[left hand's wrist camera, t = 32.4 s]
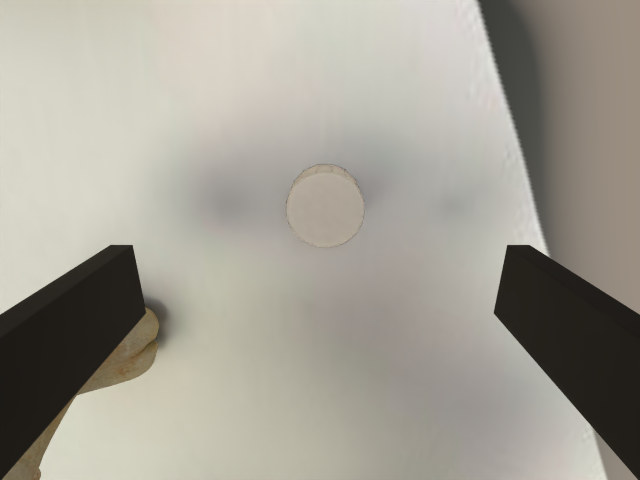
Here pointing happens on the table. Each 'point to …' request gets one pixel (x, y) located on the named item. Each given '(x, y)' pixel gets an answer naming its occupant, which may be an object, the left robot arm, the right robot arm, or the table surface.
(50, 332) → the left robot arm
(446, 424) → the table surface
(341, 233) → the cap
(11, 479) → the sculpture
